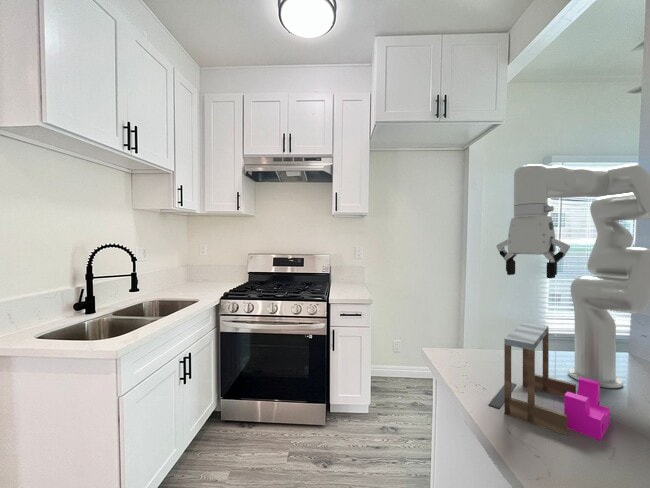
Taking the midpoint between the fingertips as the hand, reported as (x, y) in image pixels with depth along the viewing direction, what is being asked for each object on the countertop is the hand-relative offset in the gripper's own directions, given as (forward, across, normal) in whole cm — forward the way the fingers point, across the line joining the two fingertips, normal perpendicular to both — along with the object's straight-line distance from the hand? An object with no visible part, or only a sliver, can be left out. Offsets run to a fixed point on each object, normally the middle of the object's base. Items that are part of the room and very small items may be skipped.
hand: (530, 276), depth 82 cm
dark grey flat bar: (+33, +5, +3) cm, 34 cm away
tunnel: (+33, -3, +1) cm, 33 cm away
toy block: (+33, -12, -1) cm, 36 cm away
